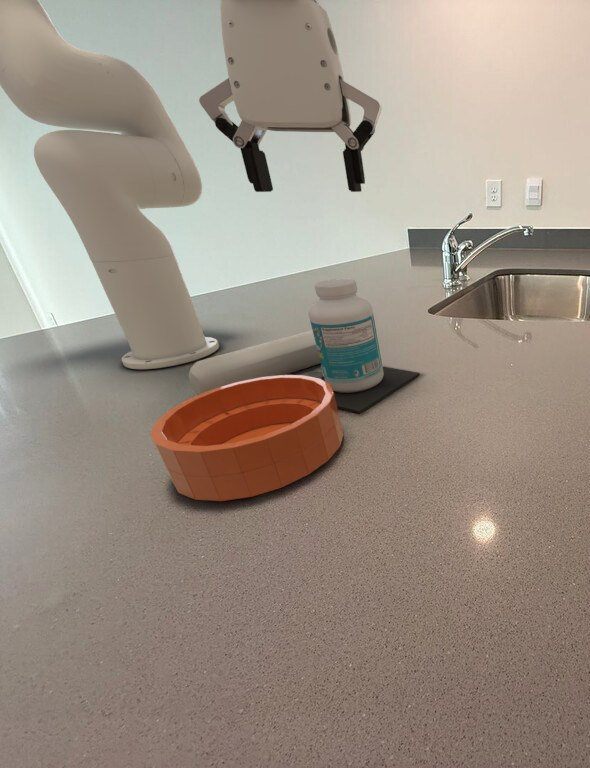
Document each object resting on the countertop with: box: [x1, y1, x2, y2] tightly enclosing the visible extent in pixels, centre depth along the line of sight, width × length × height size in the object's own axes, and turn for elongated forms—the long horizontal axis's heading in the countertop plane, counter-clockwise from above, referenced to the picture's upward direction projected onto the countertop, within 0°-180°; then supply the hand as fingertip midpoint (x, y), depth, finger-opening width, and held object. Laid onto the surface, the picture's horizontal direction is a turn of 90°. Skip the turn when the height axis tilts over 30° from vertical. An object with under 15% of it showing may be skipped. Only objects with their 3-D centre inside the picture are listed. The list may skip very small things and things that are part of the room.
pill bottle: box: [308, 277, 384, 393], centre depth 52 cm, size 8×7×14 cm
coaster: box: [319, 366, 421, 415], centre depth 55 cm, size 12×12×1 cm
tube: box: [187, 329, 321, 395], centre depth 59 cm, size 5×5×25 cm
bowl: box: [149, 374, 344, 502], centre depth 39 cm, size 15×15×6 cm
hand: (310, 191), depth 45 cm, fingers open, 9 cm apart
